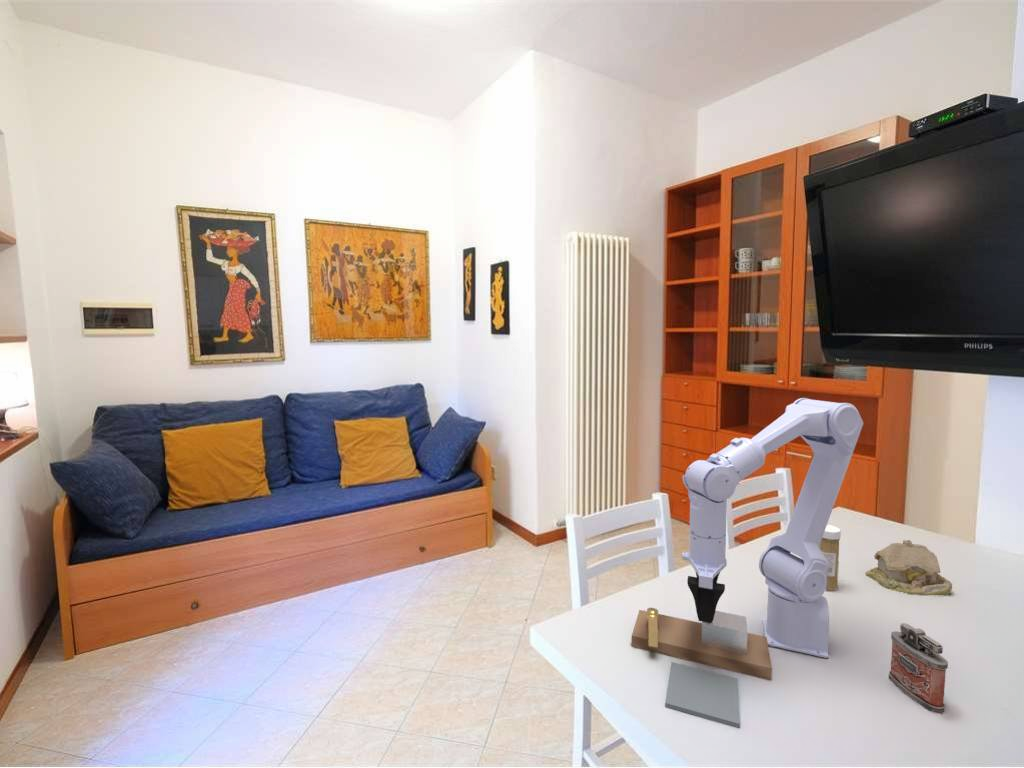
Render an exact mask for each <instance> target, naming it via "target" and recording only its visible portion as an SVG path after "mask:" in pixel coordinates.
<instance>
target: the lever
mask: <svg viewBox="0 0 1024 768" xmlns="http://www.w3.org/2000/svg"><path fill="white" fill-rule="evenodd" d="M646 611H647V626H648V646H651V647H658V614H659V610H658V609H657V608H654V607H648V608H647V609H646Z"/></svg>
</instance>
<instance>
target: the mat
mask: <svg viewBox="0 0 1024 768" xmlns="http://www.w3.org/2000/svg"><path fill="white" fill-rule="evenodd" d="M669 670H670V671H669V675H668V676H669V677H668V682H667V689H666V690H667V691H666V695H665V701H664V706H665V708H669V709H672V710H676V711H678V712H684V713H685V714H686V713H687V714H689V715H693V716H696V717H701V718H704V719H707V720H711V721H714V722H716V723H717V722H718V723H722V724H725V725H727V726H730V727H731V726H732V727H735V728H739V729H740V727H741V726H740V725H741V721H740V717H741V716H740V703H739V701H740V700H739V686H738V685H739V684H738V682H739V681H738V677H734V676H730V675H726V674H722V673H718V672H715V671H714V672H713V671H710V670H705V669H702V668H698V667H695V666H694V667H693V666H690V665H685V664H682V663H679V662H678V663H677V662H673V661H671V663H670V669H669Z"/></svg>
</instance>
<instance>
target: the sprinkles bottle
mask: <svg viewBox="0 0 1024 768" xmlns="http://www.w3.org/2000/svg"><path fill="white" fill-rule="evenodd" d="M841 533H842V532H841V529H840V528H839V527H837V526H835V525H831V524H827V526H826V529H825V532H824V534H823V537H822V540H821V543H820V545H819V548H820V550H821V551H822V553H823V555H824V556H825V558H826V559H827V561H828V563H829V568H828V571H827V586H826V589H825V591H831V592H833V591H837V590H838V588H839V585H838V580H839V578H838V577H839V570H840V569H839V565H840V562H839V555H840V539H841Z"/></svg>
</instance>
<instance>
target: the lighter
mask: <svg viewBox="0 0 1024 768" xmlns="http://www.w3.org/2000/svg"><path fill="white" fill-rule="evenodd" d="M899 627H900V629H899V630H900V631H898V630H897V631H895V630H894V631H891V634H890V636H891V637H890V639H891V641H892V642H891V658H890V670H889V672H888V679H889V680H890V682H892V684H894V686H895V687H896V688H897V689H899V690H900V691H901V692H902V693H904V695H906V697H909V698H910V699H911V700H912V701H914V702H915V703H916V704H917V705H920V706H921V707H923V708H924V709H925V710H927V711H929V712H932V713H935V714H944V713H945V711H946V710H945V709H946V704H945V703H944V700H945V685H946V672H947V671H946V670H947V669H948V668H949V661H948V660H947V659H946V658H945V657H944V656H943V655H941V654H943V651H944V646H943V645H942V644H941V643H940V642H938V641H937V640H935V639H933V638H932V637H930V636H929V635H927V634H926V632H925V630H923V629H921V628H915V627H913V626H912V625H910V624H909V623H905V622H902V623H901V622H900V626H899Z"/></svg>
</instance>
